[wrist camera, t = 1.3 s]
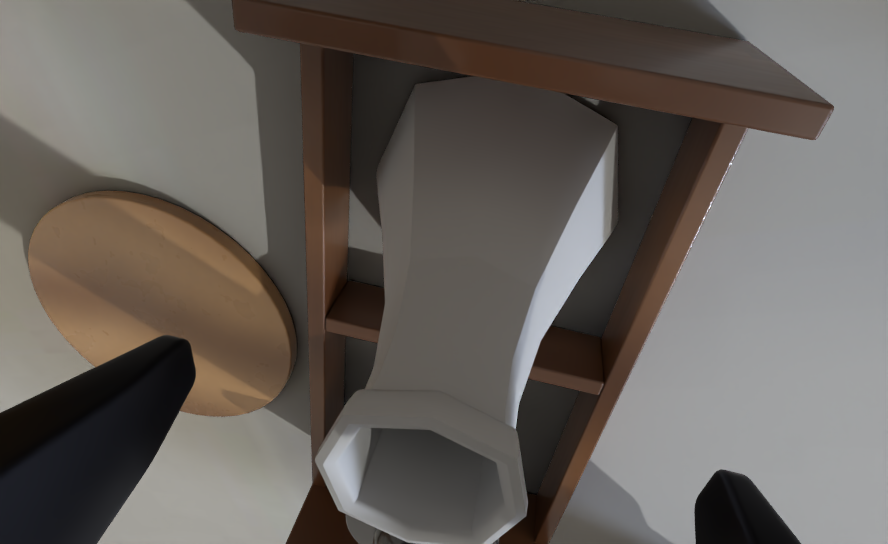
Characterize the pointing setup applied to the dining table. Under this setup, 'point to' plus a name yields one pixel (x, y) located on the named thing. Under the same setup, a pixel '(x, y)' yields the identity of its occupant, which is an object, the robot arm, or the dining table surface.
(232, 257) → the cork trivet
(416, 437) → the flask
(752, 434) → the dining table surface
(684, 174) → the rack
